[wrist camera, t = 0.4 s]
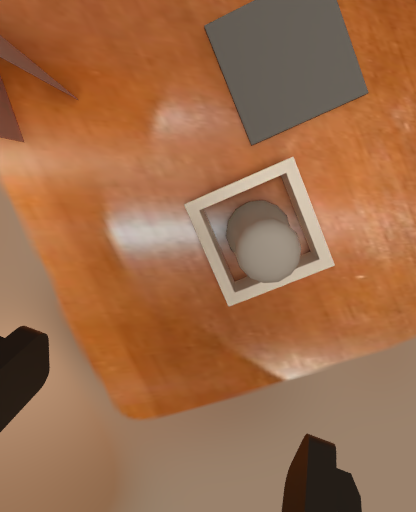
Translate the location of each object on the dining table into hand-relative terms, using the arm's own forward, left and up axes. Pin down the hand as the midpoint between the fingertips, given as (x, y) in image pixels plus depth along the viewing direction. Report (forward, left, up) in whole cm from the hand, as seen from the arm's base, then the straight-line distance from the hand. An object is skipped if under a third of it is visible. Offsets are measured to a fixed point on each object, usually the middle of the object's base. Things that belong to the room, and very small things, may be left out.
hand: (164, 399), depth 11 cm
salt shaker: (0, +5, -27) cm, 27 cm away
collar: (0, +5, -26) cm, 27 cm away
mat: (-13, +13, -26) cm, 32 cm away
